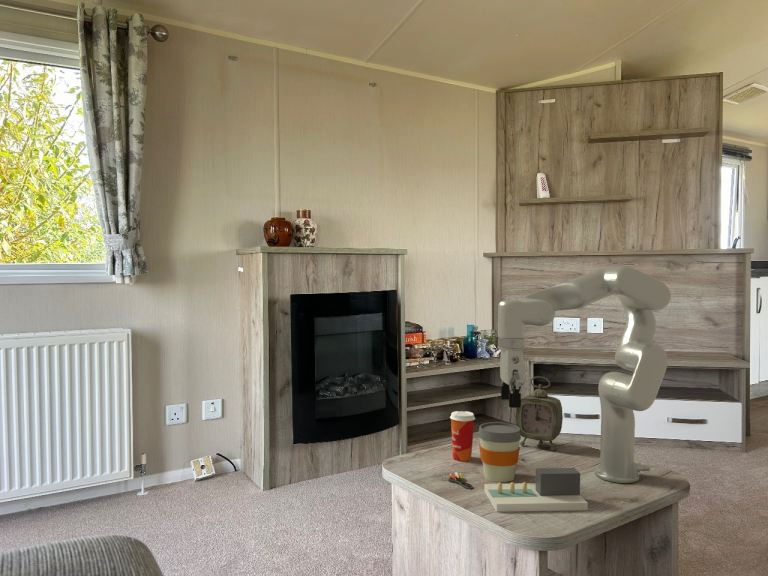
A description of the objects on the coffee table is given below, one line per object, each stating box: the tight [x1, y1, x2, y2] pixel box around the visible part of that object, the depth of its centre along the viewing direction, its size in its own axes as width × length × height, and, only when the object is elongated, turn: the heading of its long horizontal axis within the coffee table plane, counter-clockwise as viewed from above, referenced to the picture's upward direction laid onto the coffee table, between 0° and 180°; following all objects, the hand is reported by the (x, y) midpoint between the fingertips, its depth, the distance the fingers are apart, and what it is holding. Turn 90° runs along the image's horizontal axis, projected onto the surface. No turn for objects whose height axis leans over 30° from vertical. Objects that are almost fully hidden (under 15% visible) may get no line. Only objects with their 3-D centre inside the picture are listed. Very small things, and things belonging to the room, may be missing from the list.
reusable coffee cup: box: [478, 421, 522, 483], centre depth 176 cm, size 13×13×15 cm
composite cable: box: [447, 471, 474, 490], centre depth 170 cm, size 10×5×2 cm, turn 18°
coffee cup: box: [449, 410, 476, 462], centre depth 192 cm, size 8×8×15 cm
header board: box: [483, 481, 588, 513], centre depth 158 cm, size 24×14×5 cm, turn 93°
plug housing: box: [535, 467, 581, 496], centre depth 159 cm, size 11×4×6 cm, turn 93°
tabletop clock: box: [515, 375, 564, 452], centre depth 206 cm, size 14×9×25 cm, turn 59°
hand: (510, 403), depth 166 cm, fingers open, 9 cm apart
